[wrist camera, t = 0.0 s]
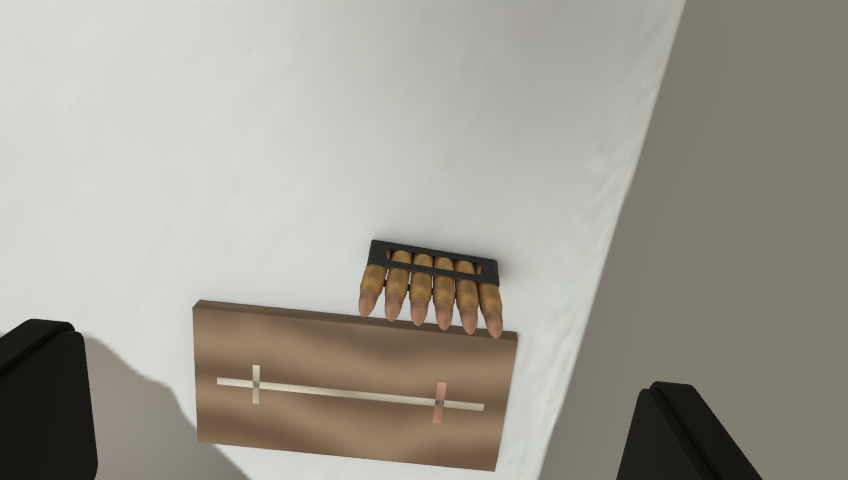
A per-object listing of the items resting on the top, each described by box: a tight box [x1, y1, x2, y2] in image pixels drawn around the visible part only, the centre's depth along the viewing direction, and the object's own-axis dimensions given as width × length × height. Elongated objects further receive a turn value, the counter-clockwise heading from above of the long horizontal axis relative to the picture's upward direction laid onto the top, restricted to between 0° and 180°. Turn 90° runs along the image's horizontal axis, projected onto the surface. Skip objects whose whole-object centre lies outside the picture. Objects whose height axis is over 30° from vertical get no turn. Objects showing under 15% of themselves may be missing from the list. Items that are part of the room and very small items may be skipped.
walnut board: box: [193, 300, 518, 472], centre depth 51 cm, size 14×28×2 cm, turn 84°
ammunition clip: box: [359, 240, 503, 339], centre depth 42 cm, size 11×2×12 cm, turn 80°
